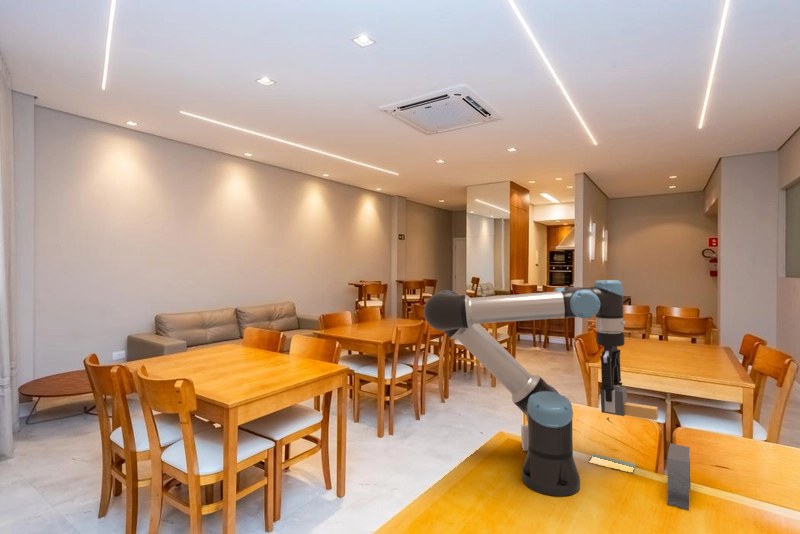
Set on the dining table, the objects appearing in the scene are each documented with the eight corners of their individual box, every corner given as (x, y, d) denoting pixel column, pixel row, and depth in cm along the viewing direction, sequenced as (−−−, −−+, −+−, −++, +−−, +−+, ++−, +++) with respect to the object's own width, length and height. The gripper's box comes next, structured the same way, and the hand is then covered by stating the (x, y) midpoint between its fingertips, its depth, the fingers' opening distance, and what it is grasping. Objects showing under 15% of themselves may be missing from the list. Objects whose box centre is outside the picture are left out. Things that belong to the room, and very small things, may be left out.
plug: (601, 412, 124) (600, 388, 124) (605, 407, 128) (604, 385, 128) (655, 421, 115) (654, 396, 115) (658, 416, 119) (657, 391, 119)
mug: (556, 457, 131) (556, 432, 131) (523, 454, 133) (523, 429, 133) (550, 441, 142) (550, 418, 142) (520, 439, 144) (520, 416, 144)
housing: (667, 504, 104) (666, 462, 104) (671, 476, 118) (670, 439, 118) (688, 510, 101) (688, 467, 101) (690, 481, 115) (690, 443, 115)
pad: (588, 463, 127) (588, 462, 127) (592, 454, 132) (592, 453, 132) (632, 474, 119) (632, 473, 119) (636, 464, 125) (636, 463, 125)
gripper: (616, 336, 115) (619, 420, 115) (630, 328, 129) (632, 403, 129) (587, 334, 120) (590, 415, 120) (604, 327, 134) (606, 399, 134)
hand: (612, 409), depth 124 cm, fingers closed on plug, 5 cm apart
